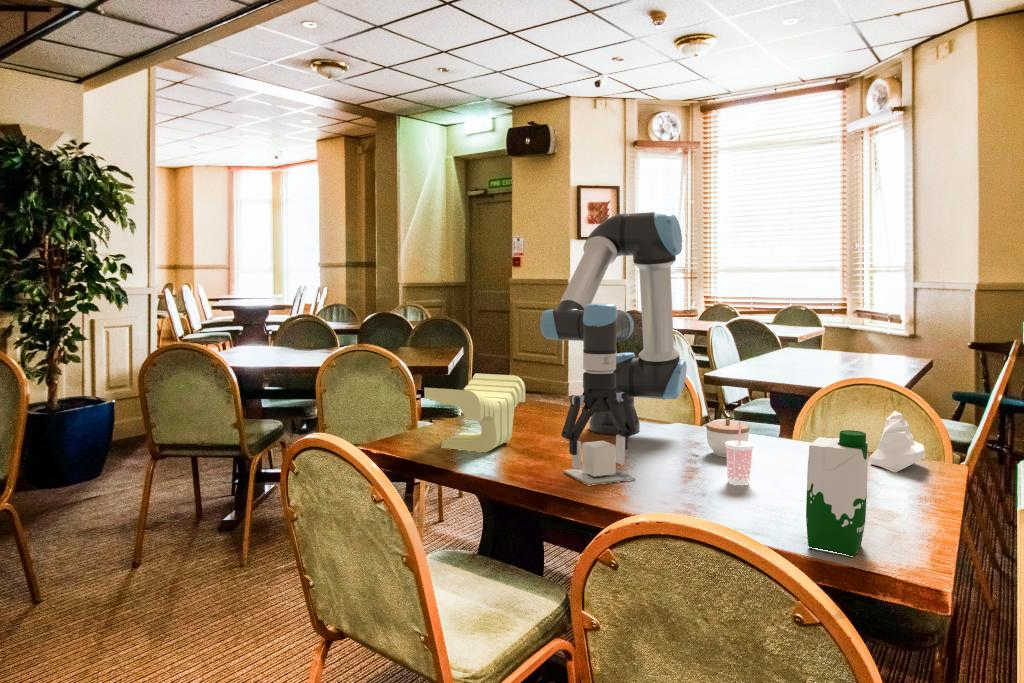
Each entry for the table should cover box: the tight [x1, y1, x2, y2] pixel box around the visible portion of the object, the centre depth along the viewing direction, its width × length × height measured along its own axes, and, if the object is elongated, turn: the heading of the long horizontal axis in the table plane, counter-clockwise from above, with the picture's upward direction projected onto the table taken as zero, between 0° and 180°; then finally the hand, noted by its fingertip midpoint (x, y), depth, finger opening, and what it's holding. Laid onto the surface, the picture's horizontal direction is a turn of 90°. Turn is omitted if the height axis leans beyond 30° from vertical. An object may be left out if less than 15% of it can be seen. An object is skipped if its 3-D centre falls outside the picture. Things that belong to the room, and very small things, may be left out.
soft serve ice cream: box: [868, 410, 927, 473], centre depth 174 cm, size 12×15×14 cm
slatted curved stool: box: [423, 372, 526, 453], centre depth 196 cm, size 30×16×18 cm, turn 157°
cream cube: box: [581, 440, 617, 477], centre depth 165 cm, size 6×6×7 cm
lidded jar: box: [705, 418, 750, 458], centre depth 186 cm, size 11×11×9 cm
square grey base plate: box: [563, 467, 636, 485], centre depth 165 cm, size 12×12×7 cm
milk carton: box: [805, 429, 869, 557], centre depth 121 cm, size 9×9×20 cm
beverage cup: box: [725, 420, 755, 485], centre depth 160 cm, size 6×6×14 cm
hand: (598, 465), depth 165 cm, fingers open, 11 cm apart
